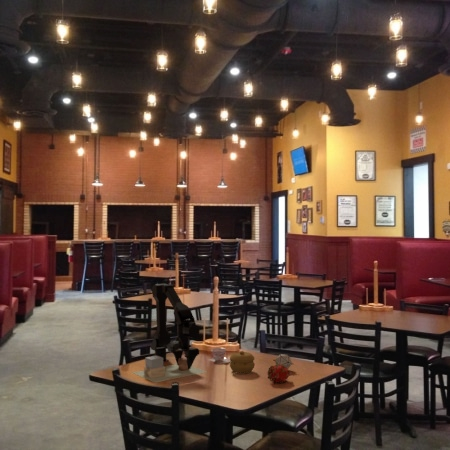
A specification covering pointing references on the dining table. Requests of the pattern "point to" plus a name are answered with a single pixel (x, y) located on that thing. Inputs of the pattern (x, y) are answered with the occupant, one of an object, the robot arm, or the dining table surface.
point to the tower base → (154, 371)
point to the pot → (242, 362)
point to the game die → (283, 360)
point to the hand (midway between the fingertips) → (183, 367)
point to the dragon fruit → (278, 373)
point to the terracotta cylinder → (183, 364)
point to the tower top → (154, 362)
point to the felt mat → (171, 373)
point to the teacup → (219, 355)
